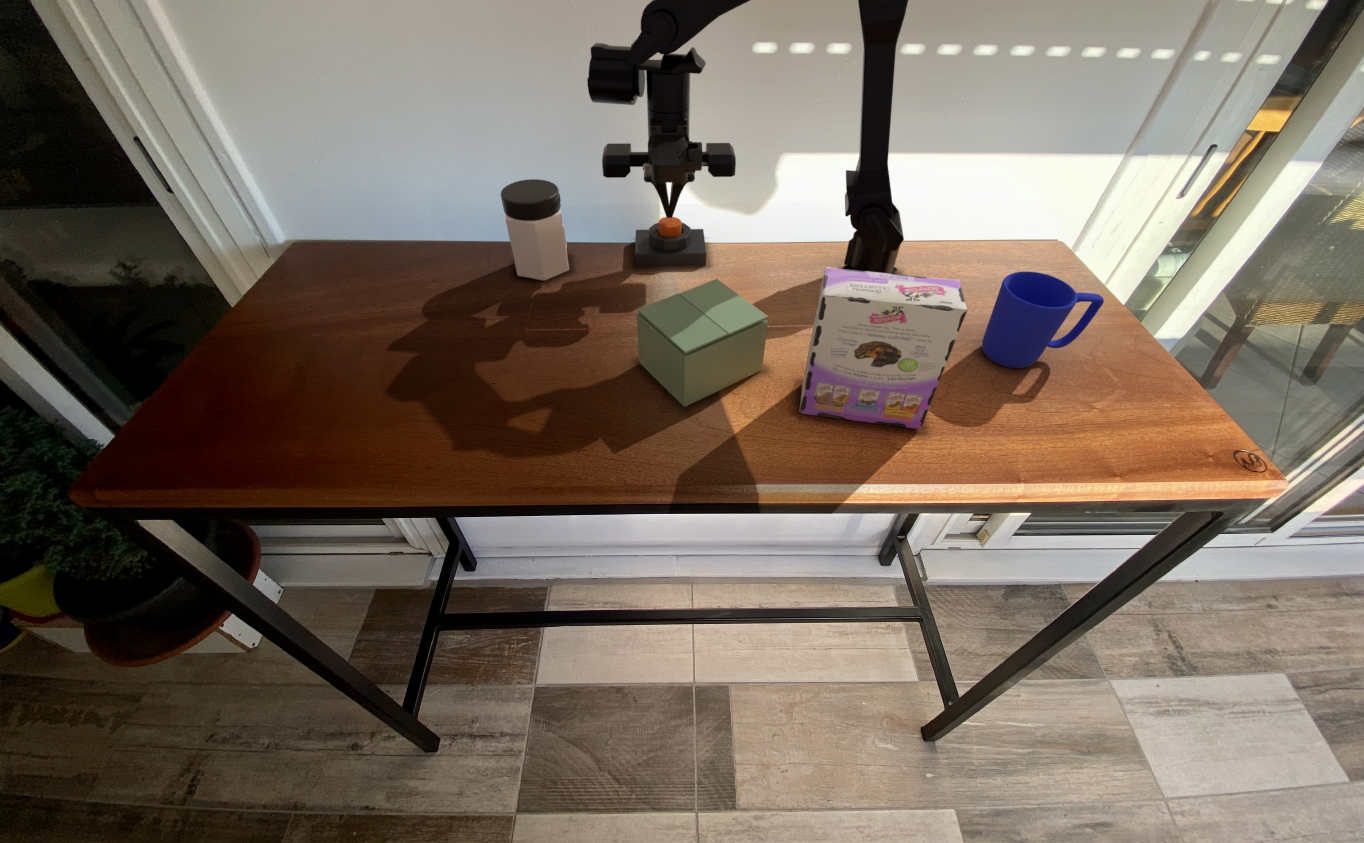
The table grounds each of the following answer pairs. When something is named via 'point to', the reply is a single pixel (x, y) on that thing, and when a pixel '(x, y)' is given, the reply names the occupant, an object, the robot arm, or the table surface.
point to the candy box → (880, 346)
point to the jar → (535, 228)
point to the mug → (1032, 318)
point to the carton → (695, 349)
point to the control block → (670, 248)
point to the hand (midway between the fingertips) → (669, 216)
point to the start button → (670, 227)
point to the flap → (723, 306)
